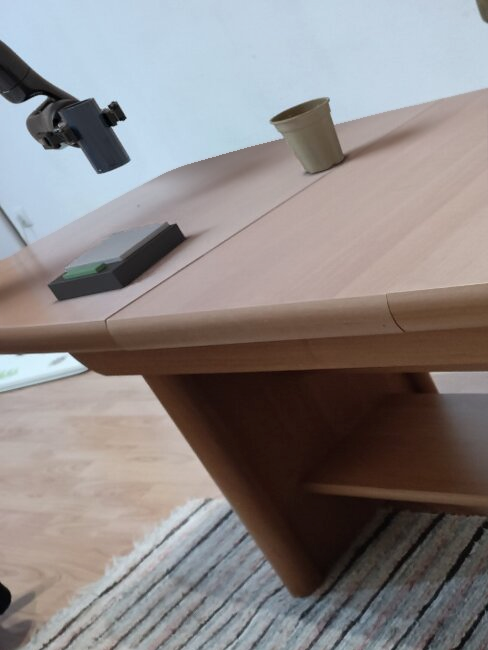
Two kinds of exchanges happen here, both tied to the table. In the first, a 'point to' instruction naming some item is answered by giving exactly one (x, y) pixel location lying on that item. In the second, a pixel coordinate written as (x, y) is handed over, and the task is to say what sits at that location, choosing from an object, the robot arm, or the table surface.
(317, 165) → the flower pot
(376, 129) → the table surface
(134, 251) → the scale
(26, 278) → the table surface
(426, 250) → the table surface
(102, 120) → the cup
